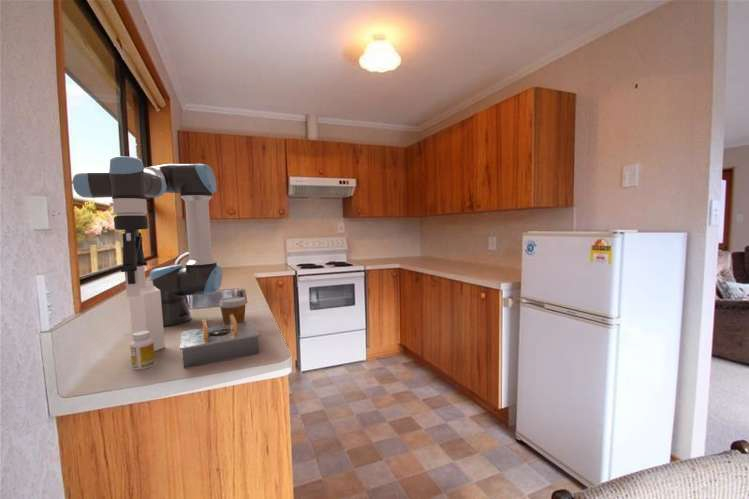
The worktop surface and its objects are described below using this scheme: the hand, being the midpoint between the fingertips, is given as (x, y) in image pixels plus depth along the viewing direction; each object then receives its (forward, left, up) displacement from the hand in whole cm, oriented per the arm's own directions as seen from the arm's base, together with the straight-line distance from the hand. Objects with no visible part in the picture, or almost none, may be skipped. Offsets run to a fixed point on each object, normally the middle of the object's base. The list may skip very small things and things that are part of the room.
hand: (137, 292), depth 94 cm
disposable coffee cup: (-20, +26, -22) cm, 39 cm away
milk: (-15, 0, -22) cm, 26 cm away
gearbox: (0, +20, -21) cm, 29 cm away
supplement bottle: (0, 0, -22) cm, 22 cm away
